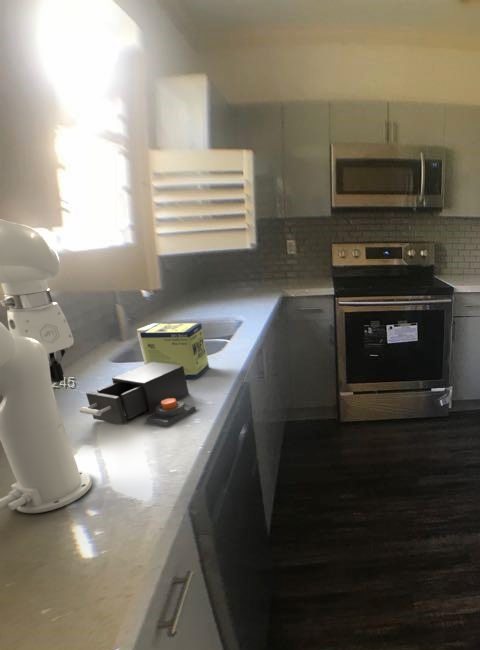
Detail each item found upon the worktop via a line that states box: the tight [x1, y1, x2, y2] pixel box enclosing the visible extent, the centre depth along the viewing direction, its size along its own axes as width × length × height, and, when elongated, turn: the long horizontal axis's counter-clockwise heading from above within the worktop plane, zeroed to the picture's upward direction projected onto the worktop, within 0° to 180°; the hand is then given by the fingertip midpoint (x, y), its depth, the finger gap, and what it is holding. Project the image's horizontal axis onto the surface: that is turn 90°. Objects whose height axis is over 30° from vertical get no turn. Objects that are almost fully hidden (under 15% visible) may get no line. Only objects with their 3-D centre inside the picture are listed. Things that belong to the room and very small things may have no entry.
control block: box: [145, 400, 197, 428], centre depth 119 cm, size 10×7×3 cm
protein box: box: [140, 322, 210, 380], centre depth 147 cm, size 10×16×16 cm
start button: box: [161, 398, 177, 409], centre depth 119 cm, size 4×4×2 cm
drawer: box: [78, 382, 148, 426], centre depth 118 cm, size 17×10×7 cm, turn 159°
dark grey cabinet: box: [111, 362, 190, 415], centre depth 128 cm, size 14×12×9 cm
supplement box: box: [136, 323, 157, 365], centre depth 158 cm, size 8×5×13 cm, turn 168°
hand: (56, 380), depth 103 cm, fingers closed
